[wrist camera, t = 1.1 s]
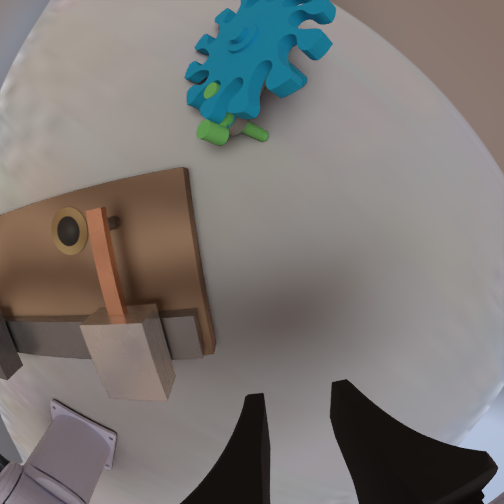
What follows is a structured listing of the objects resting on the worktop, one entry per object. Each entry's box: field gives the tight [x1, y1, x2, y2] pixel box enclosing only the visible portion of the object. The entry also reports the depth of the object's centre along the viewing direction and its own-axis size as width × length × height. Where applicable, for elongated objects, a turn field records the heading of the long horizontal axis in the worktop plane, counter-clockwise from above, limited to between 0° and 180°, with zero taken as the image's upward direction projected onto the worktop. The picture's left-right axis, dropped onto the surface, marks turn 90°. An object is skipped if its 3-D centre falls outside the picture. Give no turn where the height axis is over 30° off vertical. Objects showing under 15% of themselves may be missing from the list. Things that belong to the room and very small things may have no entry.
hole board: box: [0, 167, 216, 355], centre depth 17 cm, size 12×22×2 cm, turn 97°
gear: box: [185, 0, 336, 146], centre depth 14 cm, size 11×6×10 cm
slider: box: [80, 207, 176, 401], centre depth 15 cm, size 11×4×4 cm, turn 7°
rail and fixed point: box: [0, 308, 205, 380], centre depth 15 cm, size 11×21×4 cm, turn 97°
